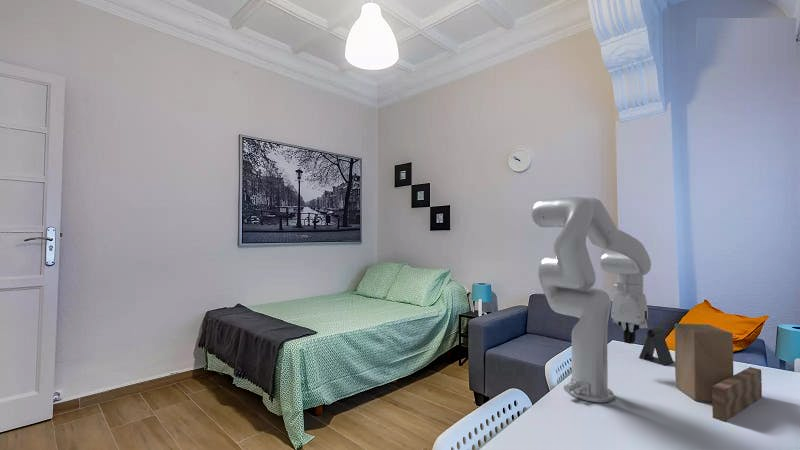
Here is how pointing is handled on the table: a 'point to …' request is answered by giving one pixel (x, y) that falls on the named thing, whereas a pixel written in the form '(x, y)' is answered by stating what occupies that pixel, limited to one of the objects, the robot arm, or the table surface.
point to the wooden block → (702, 359)
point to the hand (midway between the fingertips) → (629, 342)
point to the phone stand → (656, 342)
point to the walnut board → (736, 393)
